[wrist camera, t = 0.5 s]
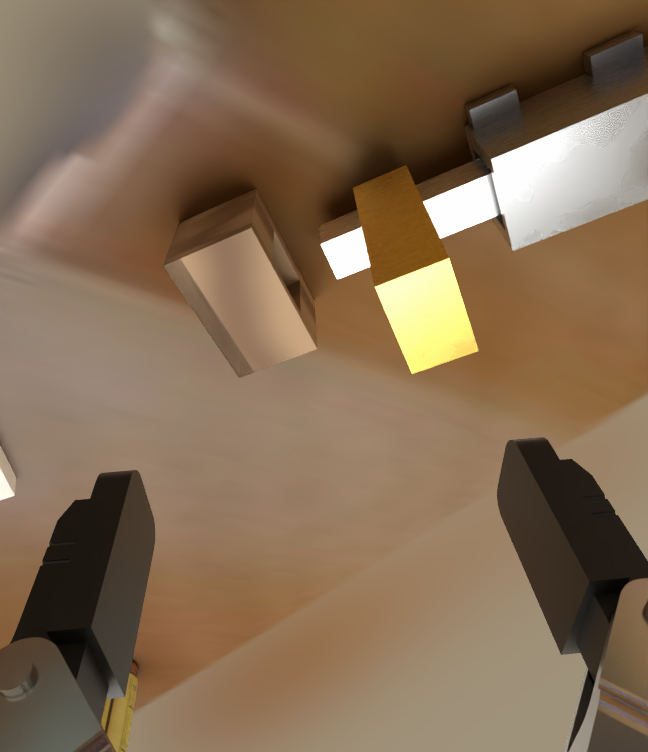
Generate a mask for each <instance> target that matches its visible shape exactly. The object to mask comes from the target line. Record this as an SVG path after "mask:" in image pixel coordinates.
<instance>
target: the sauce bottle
mask: <svg viewBox="0 0 648 752" xmlns="http://www.w3.org/2000/svg"><path fill="white" fill-rule="evenodd" d="M137 679H138V668H137V665H136V664H135V662H132V664H131V669H130V674H129V679H128V684H127V689H126V695H125V697H123V698H113V699H106V702H105V707H104V711H103V716H102V721H101V725H102V727H103V729H104V731H105V732H106V734H107V736H108V738H109V740H110V742H111V743H112V745H113V747H114V749H115V751H116V752H126V751H127V746H128V739H129V733H130V727H131V721H132V715H133V710H134V704H135V698H136V692H137V686H138V680H137Z"/></svg>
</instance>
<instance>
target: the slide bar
mask: <svg viewBox="0 0 648 752" xmlns="http://www.w3.org/2000/svg"><path fill="white" fill-rule="evenodd" d="M353 192H354V196H355V200H356V205H357V209H358V210H355V211H353V212H351V213H348V214H346V215H344V216H341V217H339V218H337V219H334V220H332V221H329V222H327V223H325V224H322V225H320V226H319V231H320V243H321V246H322V248H323V250H324V252H325V255H326V257H327V259H328V261H329V263H330V265H331V267H332V270H333V272H334V274H335V276H336V278H337V279H340V278H343V277H345V276H348V275H350V274H353V273H355V272H358V271H360V270H363V269H365V268H368V267H371V272H372V276H373V281H374V285H375V288H376V291H377V293H378V295H379V298H380V300H381V302H382V305H383V307H384V309H385V312H386V314H387V316H388V319H389V321H390V324H391V326H392V328H393V331H394V333H395V335H396V338H397V340H398V342H399V345H400V347H401V349H402V352H403V354H404V356H405V359H406V361H407V363H408V366H409V368H410V370H411V373H412V374H414V373H417V372H419V371H422V370H425V369H428V368H431V367H434V366H437V365H439V364H442V363H445V362H448V361H451V360H454V359H457V358H460V357H462V356H465V355H468V354H471V353H474V352H477V351H479V350H478V347H477V344H476V341H475V338H474V335H473V332H472V328H471V325H470V322H469V319H468V316H467V313H466V310H465V306H464V303H463V300H462V297H461V294H460V291H459V288H458V284H457V281H456V278H455V275H454V272H453V269H452V266H451V263H450V259H449V257H448V255H447V252H446V250H445V248H444V246H443V244H442V242H441V239H440V238H443V237H445V236H448V235H450V234H453V233H455V232H458V231H461V230H463V229H466V228H468V227H471V226H473V225H476V224H478V223H481V222H483V221H486V220H488V219H491V218H493V217H496V216H498V215H501V210H500V206H499V202H498V198H497V194H496V190H495V185H494V181H493V177H492V173H491V170H490V169H489V167H488V166H487V165H486V163H485V162H484V161H483V160H482V158H478V159H476V160H474V161H471V162H469V163H467V164H464V165H462V166H459V167H457V168H455V169H452V170H450V171H448V172H445V173H443V174H441V175H438V176H436V177H433V178H431V179H429V180H426V181H424V182H422V183H419V184H417V185H415V183H414V181H413V179H412V177H411V174H410V172H409V170H408V168H407V166H406V165H405V166H402V167H400V168H398V169H395V170H393V171H391V172H388V173H386V174H384V175H382V176H379V177H377V178H375V179H372V180H370V181H368V182H365V183H363V184H361V185H358V186H356V187H354V188H353Z"/></svg>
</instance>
